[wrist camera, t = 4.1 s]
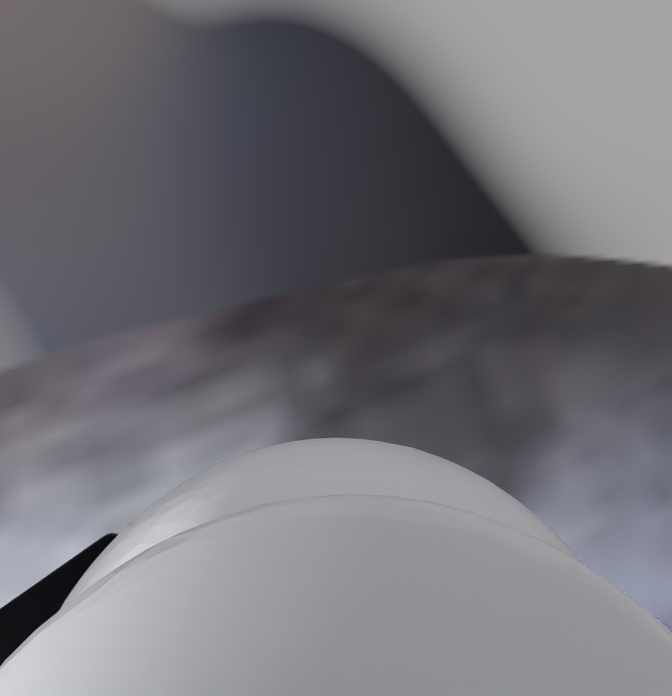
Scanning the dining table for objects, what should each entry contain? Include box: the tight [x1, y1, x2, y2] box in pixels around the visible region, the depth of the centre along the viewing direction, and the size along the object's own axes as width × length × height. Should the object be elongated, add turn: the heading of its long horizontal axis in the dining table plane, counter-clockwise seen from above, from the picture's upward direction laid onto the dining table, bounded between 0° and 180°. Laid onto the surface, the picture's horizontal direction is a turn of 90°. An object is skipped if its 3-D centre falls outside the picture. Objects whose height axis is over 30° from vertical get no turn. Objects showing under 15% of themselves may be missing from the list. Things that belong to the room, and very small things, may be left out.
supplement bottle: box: [0, 438, 672, 696], centre depth 8 cm, size 7×7×13 cm
